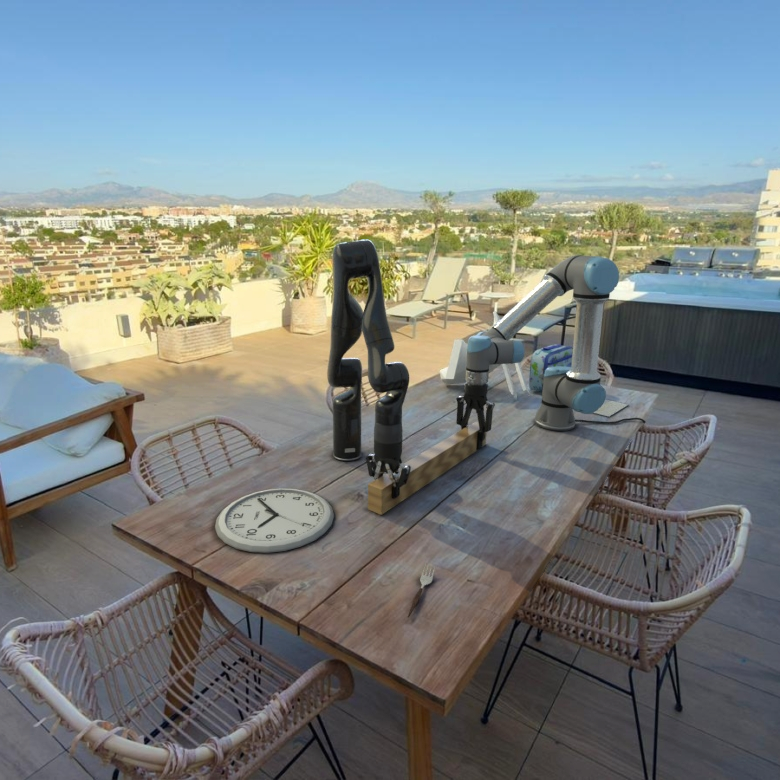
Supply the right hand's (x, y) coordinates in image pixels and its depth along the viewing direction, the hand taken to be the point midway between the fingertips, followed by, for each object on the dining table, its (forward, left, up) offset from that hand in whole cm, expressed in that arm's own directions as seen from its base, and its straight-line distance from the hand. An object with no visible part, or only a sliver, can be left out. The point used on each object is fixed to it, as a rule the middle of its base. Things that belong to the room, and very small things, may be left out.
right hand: (472, 446), depth 181 cm
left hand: (+24, +42, +2) cm, 49 cm away
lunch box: (-39, -77, -1) cm, 86 cm away
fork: (+13, +78, -1) cm, 79 cm away
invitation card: (-57, -54, -1) cm, 78 cm away
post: (+12, +21, -1) cm, 24 cm away
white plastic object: (-5, -66, -1) cm, 66 cm away
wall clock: (+52, +54, -1) cm, 75 cm away
